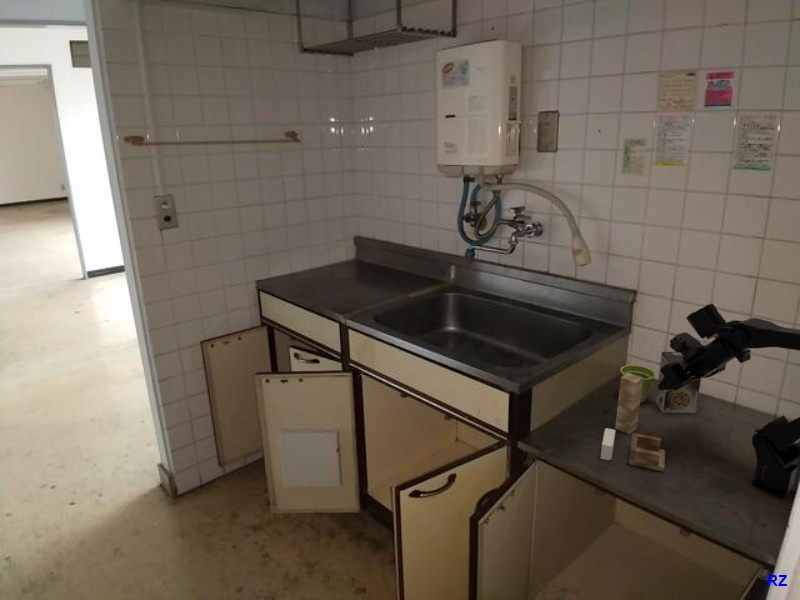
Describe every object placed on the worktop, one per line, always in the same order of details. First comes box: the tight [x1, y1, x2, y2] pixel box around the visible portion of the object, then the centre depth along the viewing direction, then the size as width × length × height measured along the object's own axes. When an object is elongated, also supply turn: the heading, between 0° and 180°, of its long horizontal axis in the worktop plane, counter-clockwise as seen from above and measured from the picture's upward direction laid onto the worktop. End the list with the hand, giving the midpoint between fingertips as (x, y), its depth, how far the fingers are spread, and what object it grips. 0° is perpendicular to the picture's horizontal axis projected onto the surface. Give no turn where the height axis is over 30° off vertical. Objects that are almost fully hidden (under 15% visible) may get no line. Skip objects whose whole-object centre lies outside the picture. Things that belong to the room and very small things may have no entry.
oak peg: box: [614, 373, 643, 435], centre depth 145 cm, size 4×4×15 cm
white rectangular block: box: [600, 427, 616, 461], centre depth 137 cm, size 2×8×4 cm, turn 155°
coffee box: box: [655, 351, 702, 414], centre depth 154 cm, size 9×6×16 cm
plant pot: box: [620, 364, 657, 404], centre depth 161 cm, size 9×9×9 cm
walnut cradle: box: [628, 432, 666, 472], centre depth 133 cm, size 8×8×4 cm
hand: (670, 383), depth 141 cm, fingers open, 9 cm apart
